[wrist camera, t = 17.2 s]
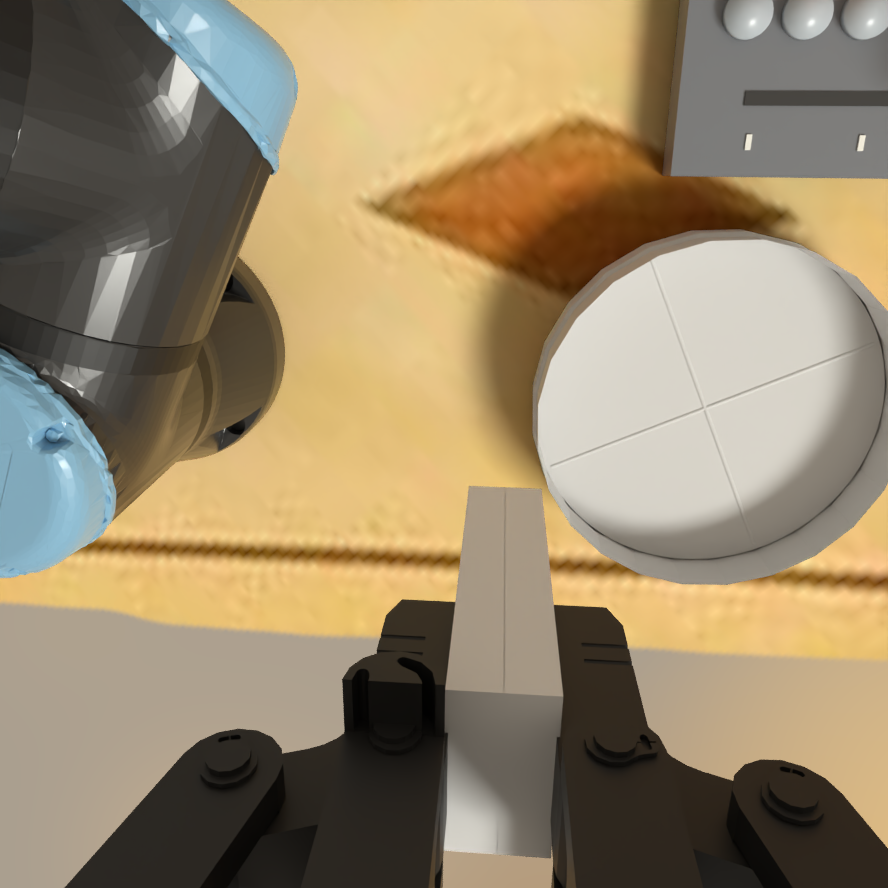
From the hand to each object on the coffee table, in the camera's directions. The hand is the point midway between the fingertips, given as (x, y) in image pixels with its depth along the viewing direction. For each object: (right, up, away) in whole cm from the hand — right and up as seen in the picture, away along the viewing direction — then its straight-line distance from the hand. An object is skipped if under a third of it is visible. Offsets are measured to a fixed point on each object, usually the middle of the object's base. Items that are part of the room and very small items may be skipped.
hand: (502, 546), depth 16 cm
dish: (+16, +5, +34) cm, 38 cm away
